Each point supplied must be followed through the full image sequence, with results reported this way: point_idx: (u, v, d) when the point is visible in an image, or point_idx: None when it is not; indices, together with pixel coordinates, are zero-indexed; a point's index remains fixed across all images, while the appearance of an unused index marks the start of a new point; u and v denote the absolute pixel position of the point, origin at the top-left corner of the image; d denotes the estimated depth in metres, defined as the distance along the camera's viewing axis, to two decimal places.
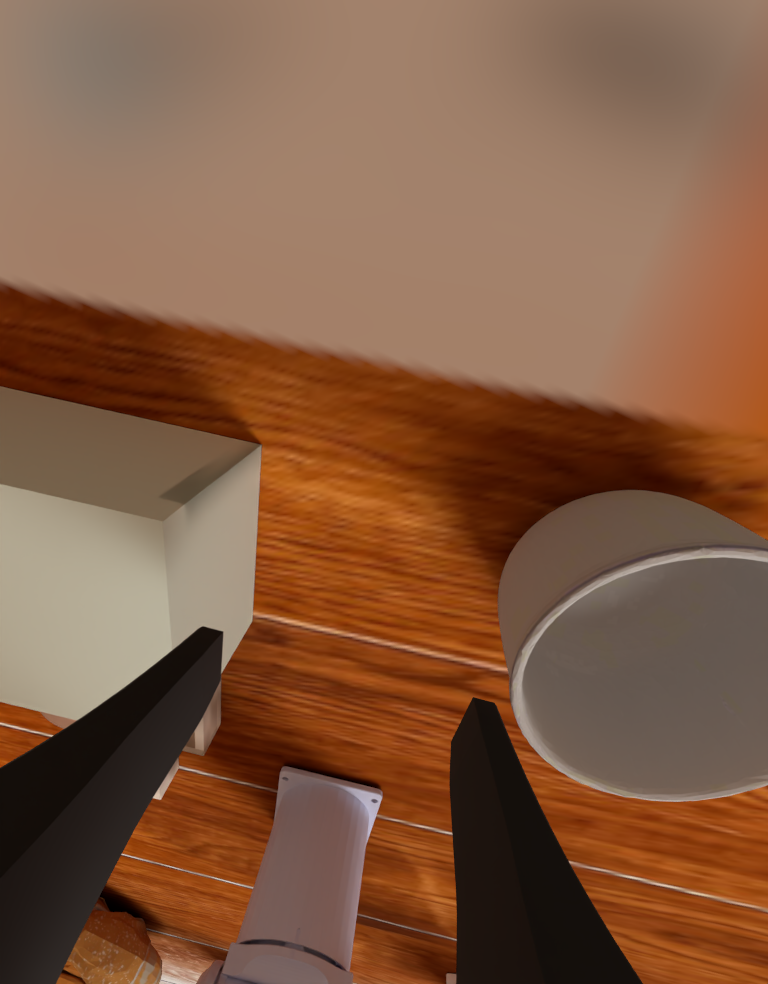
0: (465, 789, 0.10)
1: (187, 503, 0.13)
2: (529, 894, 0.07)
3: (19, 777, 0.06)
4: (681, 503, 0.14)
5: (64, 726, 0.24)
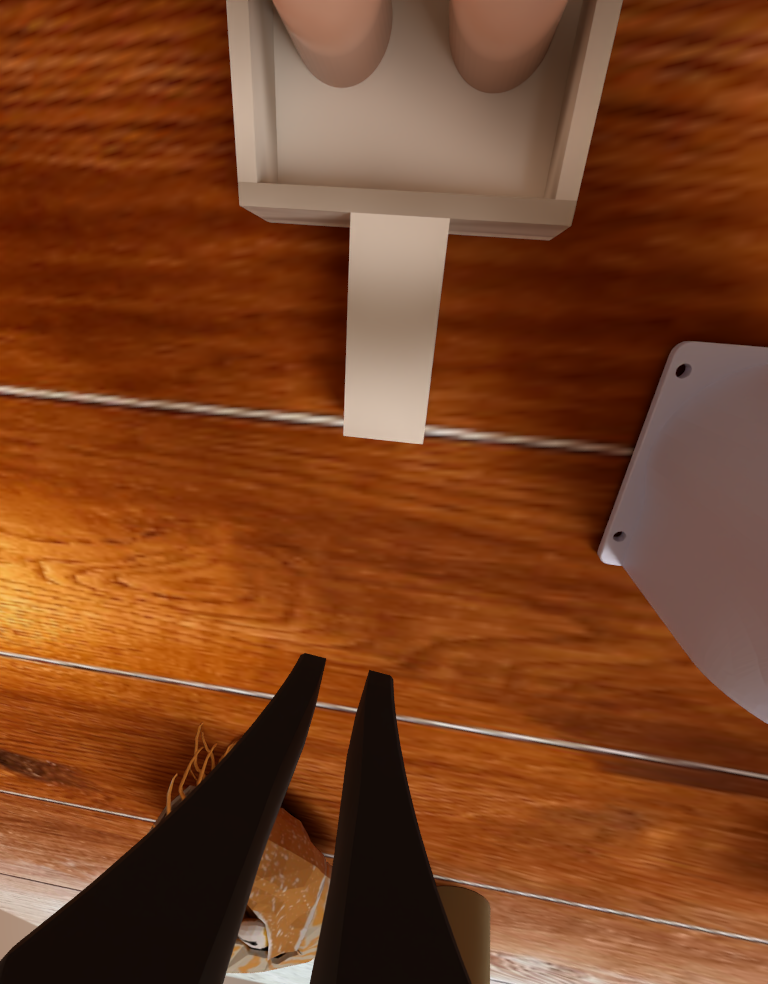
0: (351, 759, 0.10)
1: None
2: (360, 849, 0.07)
3: (193, 824, 0.06)
4: None
5: None
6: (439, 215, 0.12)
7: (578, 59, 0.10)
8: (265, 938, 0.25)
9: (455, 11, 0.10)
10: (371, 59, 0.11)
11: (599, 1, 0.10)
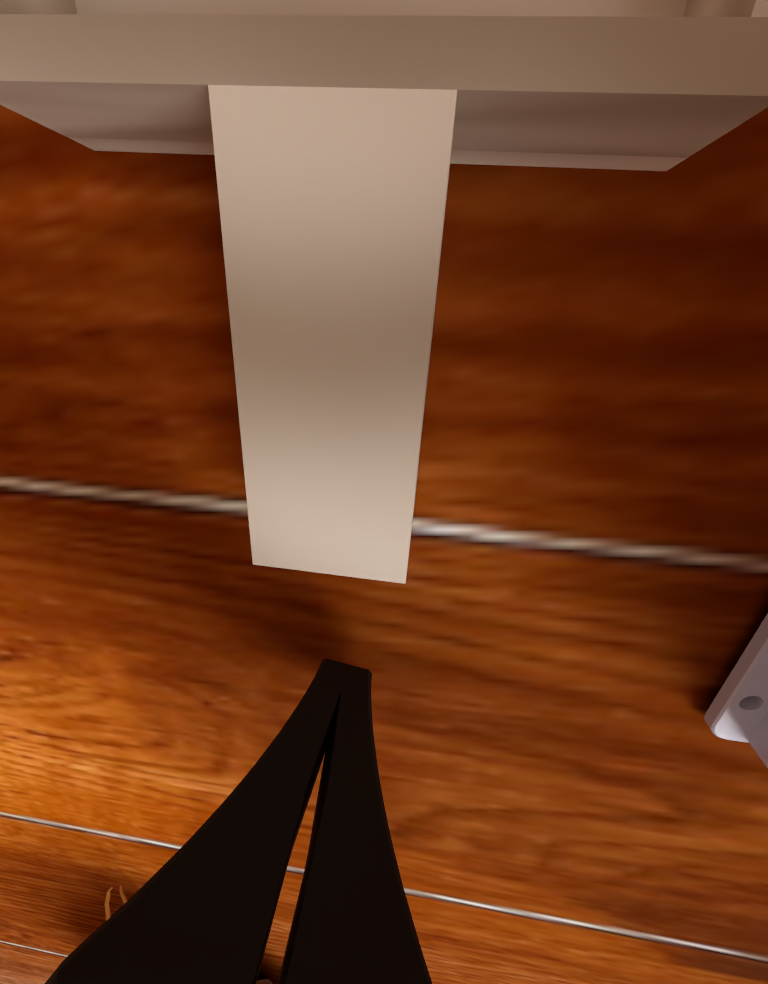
0: (327, 752, 0.10)
1: None
2: (325, 839, 0.07)
3: (230, 833, 0.06)
4: None
5: None
6: (431, 81, 0.04)
7: None
8: None
9: None
10: None
11: None
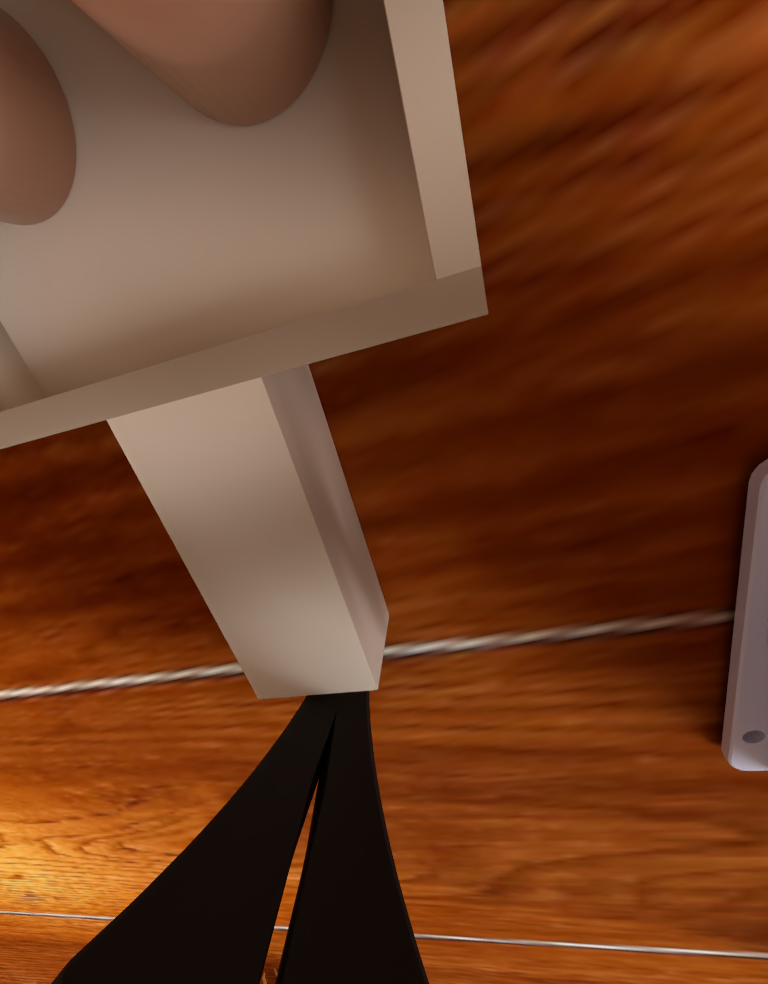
0: (325, 752, 0.10)
1: None
2: (322, 839, 0.07)
3: (233, 834, 0.06)
4: None
5: None
6: (241, 377, 0.06)
7: None
8: None
9: None
10: (43, 152, 0.06)
11: None
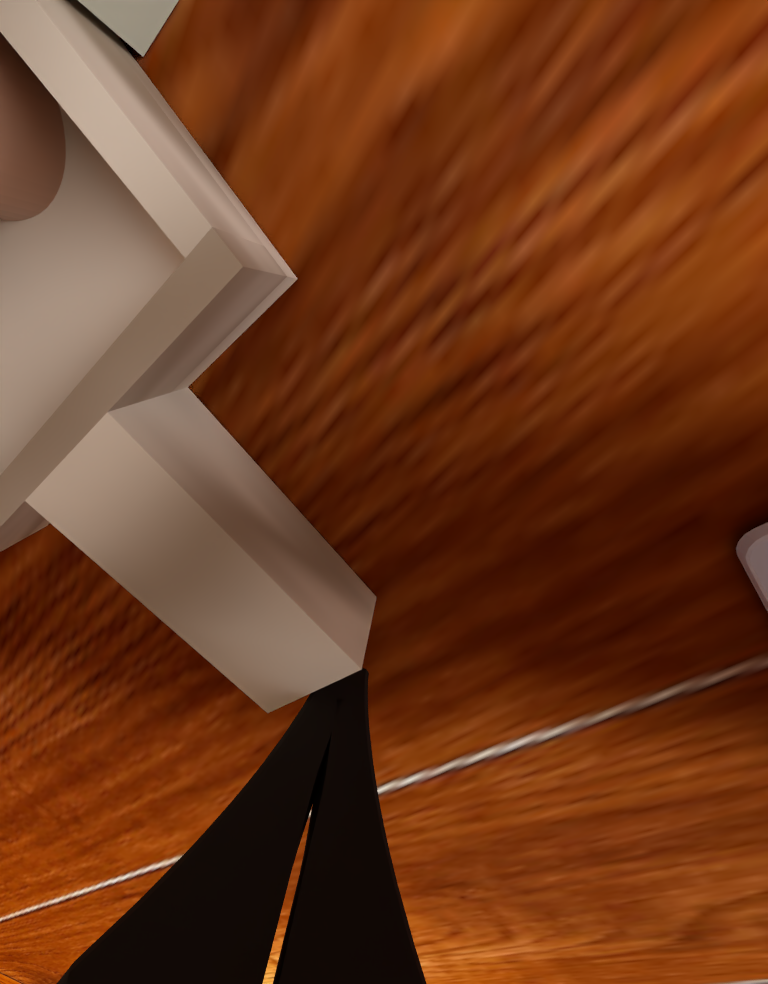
0: None
1: None
2: (320, 838, 0.07)
3: (236, 835, 0.06)
4: None
5: None
6: (94, 419, 0.07)
7: None
8: None
9: None
10: None
11: None
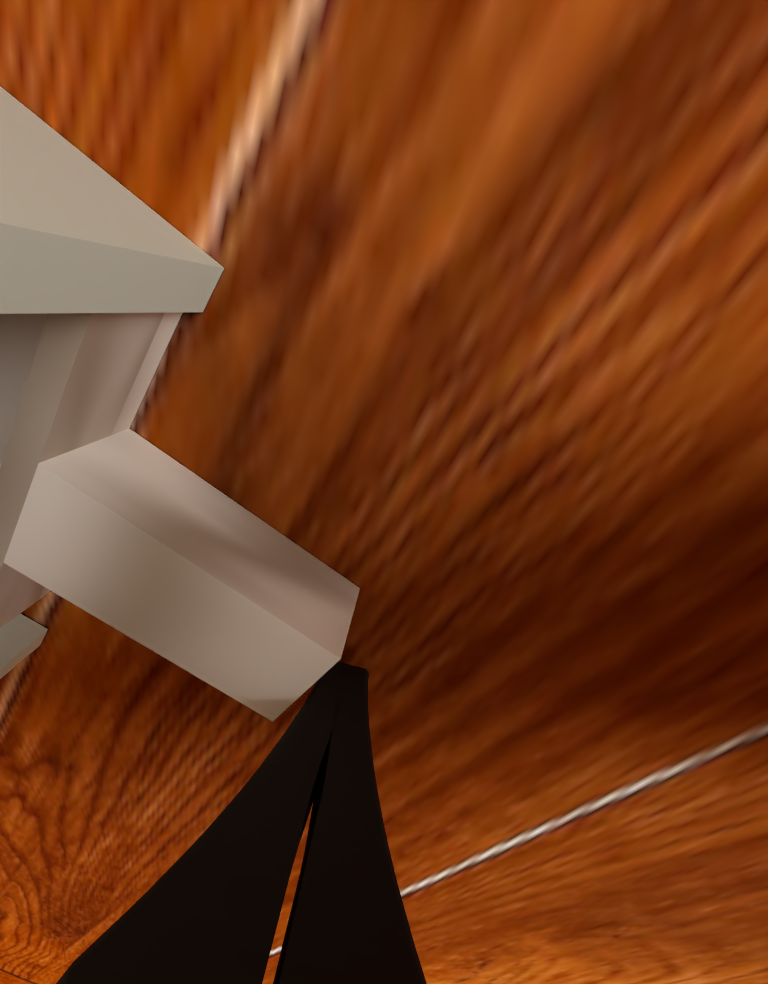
0: None
1: None
2: (320, 838, 0.07)
3: (236, 835, 0.06)
4: None
5: None
6: (31, 472, 0.07)
7: None
8: None
9: None
10: None
11: None
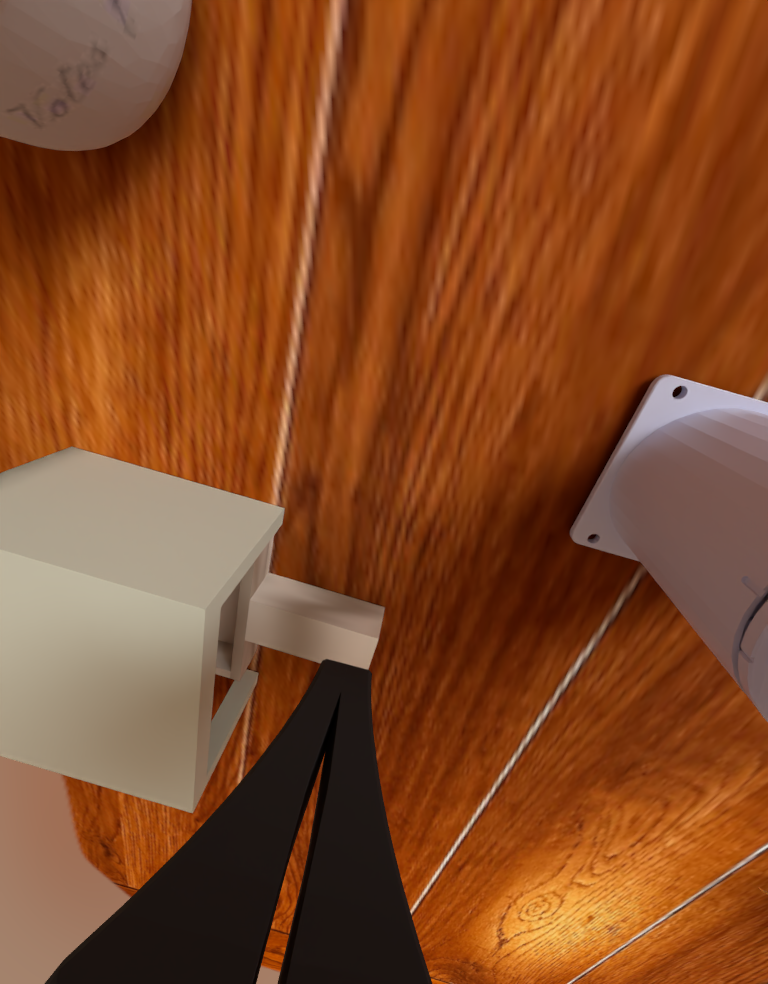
0: (327, 752, 0.10)
1: None
2: (325, 839, 0.07)
3: (229, 833, 0.06)
4: None
5: None
6: (248, 604, 0.21)
7: None
8: None
9: None
10: None
11: None
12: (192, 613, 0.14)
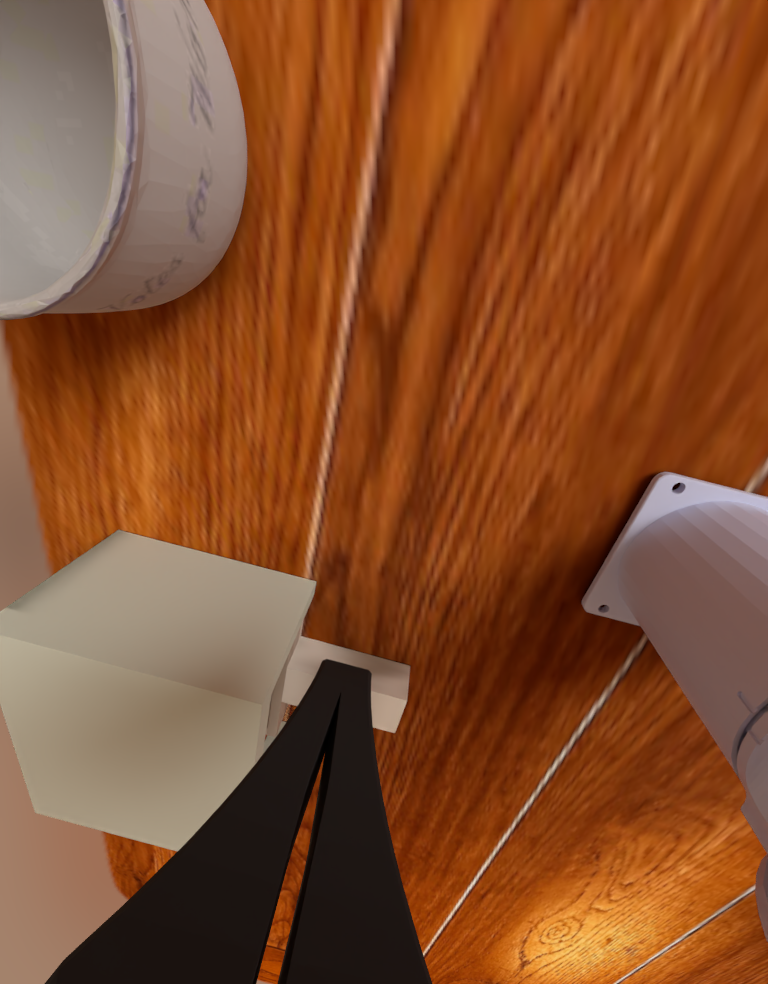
0: (327, 752, 0.10)
1: (11, 605, 0.17)
2: (325, 839, 0.07)
3: (229, 833, 0.06)
4: None
5: None
6: (285, 671, 0.22)
7: None
8: None
9: None
10: None
11: None
12: (250, 707, 0.15)
